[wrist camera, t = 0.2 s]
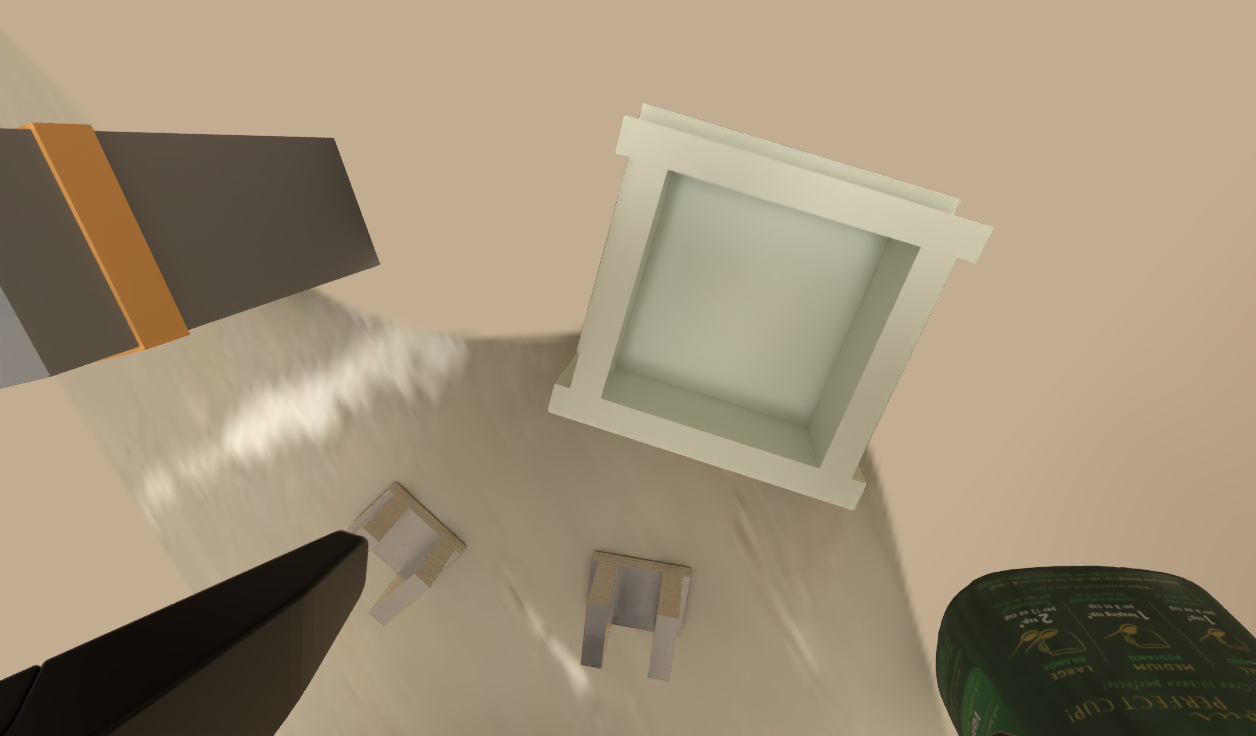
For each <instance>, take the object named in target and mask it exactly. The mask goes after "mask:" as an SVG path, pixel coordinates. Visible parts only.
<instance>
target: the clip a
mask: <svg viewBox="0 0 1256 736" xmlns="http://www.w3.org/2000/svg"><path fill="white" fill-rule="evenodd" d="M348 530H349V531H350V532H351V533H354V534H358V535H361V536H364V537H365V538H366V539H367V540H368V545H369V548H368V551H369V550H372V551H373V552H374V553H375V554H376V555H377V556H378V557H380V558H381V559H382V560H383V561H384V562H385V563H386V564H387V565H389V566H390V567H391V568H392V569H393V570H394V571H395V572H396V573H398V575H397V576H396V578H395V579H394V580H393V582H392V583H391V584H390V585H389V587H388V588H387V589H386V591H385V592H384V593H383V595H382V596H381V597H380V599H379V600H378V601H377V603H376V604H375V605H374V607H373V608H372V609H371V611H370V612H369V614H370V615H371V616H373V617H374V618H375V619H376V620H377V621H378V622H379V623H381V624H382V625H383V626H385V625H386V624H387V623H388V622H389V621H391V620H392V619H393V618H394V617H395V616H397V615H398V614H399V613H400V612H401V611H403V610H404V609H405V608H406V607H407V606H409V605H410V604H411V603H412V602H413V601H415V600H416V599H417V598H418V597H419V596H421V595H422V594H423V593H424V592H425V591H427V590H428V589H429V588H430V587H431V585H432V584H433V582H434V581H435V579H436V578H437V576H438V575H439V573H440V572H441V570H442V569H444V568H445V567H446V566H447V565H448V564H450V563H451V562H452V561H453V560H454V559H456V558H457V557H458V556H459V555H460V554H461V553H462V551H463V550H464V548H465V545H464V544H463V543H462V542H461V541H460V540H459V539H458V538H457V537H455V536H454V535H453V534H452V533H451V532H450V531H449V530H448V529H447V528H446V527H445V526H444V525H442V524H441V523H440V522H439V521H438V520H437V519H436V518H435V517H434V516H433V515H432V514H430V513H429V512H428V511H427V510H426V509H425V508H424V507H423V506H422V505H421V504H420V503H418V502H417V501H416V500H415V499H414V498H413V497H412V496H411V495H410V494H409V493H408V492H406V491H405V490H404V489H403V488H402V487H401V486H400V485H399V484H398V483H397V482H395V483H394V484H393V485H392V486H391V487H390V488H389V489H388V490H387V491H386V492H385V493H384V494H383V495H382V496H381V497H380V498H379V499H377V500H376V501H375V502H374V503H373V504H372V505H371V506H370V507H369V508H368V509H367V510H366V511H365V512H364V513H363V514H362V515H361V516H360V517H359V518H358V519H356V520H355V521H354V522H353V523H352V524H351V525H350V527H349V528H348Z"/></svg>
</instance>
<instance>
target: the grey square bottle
mask: <svg viewBox="0 0 1256 736" xmlns="http://www.w3.org/2000/svg"><path fill="white" fill-rule="evenodd" d="M378 265H380V263H379V260H378V257H377V255H376V252H375V249H374V247H373V244H372V241H371V239H370V235H369V233H368V230H367V227H366V225H365V222H364V219H363V217H362V214H361V211H360V208H359V205H358V203H357V200H356V197H355V195H354V192H353V189H352V186H351V183H350V181H349V178H348V176H347V173H346V170H345V167H344V164H343V162H342V159H341V156H340V154H339V151H338V148H337V145H336V142H335V140H334V138H316V137H282V136H279V137H278V136H247V135H246V136H245V135H212V134H211V135H210V134H177V133H142V132H140V133H139V132H107V131H94V130H93V128H92V126H91V125H82V124H56V123H29V124H27V125H24V126H21V127H18V128H15V129H2V128H0V389H1V388H5V387H9V386H14V385H18V384H22V383H26V382H30V381H35V380H39V379H43V378H47V377H51V376H54V375H57V374H60V373H63V372H66V371H69V370H72V369H75V368H78V367H81V366H84V365H87V364H90V363H93V362H97V361H101V360H105V359H110V358H114V357H118V356H122V355H126V354H131V353H135V352H139V351H143V350H147V349H150V348H153V347H155V346H158V345H161V344H164V343H167V342H170V341H173V340H175V339H178V338H181V337H184V336H187V335H190V333H189V331H188V330H190V329H193V328H196V327H198V326H201V325H204V324H207V323H210V322H213V321H216V320H219V319H222V318H225V317H228V316H231V315H234V314H237V313H240V312H243V311H246V310H248V309H251V308H254V307H257V306H260V305H263V304H266V303H269V302H272V301H275V300H278V299H281V298H284V297H287V296H290V295H293V294H296V293H298V292H301V291H304V290H307V289H310V288H313V287H316V286H319V285H322V284H325V283H328V282H331V281H334V280H337V279H340V278H342V277H346V276H348V275H351V274H354V273H357V272H360V271H363V270H366V269H369V268H372V267H375V266H378Z"/></svg>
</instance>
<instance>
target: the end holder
mask: <svg viewBox="0 0 1256 736" xmlns="http://www.w3.org/2000/svg"><path fill="white" fill-rule="evenodd" d="M615 153H616V154H619V155H622V156H625V157H628V161H627V165H626V169H625V172H624V176H623V180H622V183H621V187H620V191H619V195H618V199H617V202H616V206H615V209H614V213H613V217H612V221H611V224H610V228H609V232H608V236H607V239H606V243H605V247H604V251H603V254H602V258H601V262H600V265H599V269H598V273H597V276H596V280H595V284H594V288H593V291H592V295H591V299H590V303H589V306H588V311H587V314H586V318H585V321H584V325H583V329H582V332H581V336H580V340H579V344H578V347H577V351H576V354H575V355H574V357H573V358H572V360H571V361H570V363H569V364H568V365H567V367H566V368H565V370H564V371H563V372H562V374H561V375H560V377H559V378H558V380H557V381H556V382H555V384H554V388H553V392H552V396H551V399H550V403H549V407H548V411H547V412H550V413H553V414H556V415H559V416H562V417H565V418H568V419H571V420H574V421H577V422H580V423H584V424H587V425H590V426H593V427H596V428H599V429H602V430H605V431H608V432H611V433H615V434H618V435H621V436H624V437H627V438H630V439H633V440H636V441H639V442H642V443H645V444H649V445H652V446H655V447H658V448H661V449H664V450H667V451H670V452H673V453H676V454H679V455H683V456H686V457H689V458H692V459H695V460H698V461H701V462H704V463H707V464H710V465H713V466H717V467H720V468H723V469H726V470H729V471H732V472H735V473H738V474H741V475H744V476H748V477H751V478H754V479H757V480H760V481H763V482H766V483H769V484H772V485H775V486H778V487H782V488H785V489H788V490H791V491H794V492H797V493H800V494H803V495H806V496H809V497H812V498H816V499H819V500H822V501H825V502H828V503H831V504H834V505H837V506H840V507H843V508H847V509H850V510H853V511H854V510H855V508H856V506H857V503H858V501H859V499H860V497H861V495H862V493H863V491H864V489H865V487H866V485H867V483H866V480H865V478H864V476H863V474H862V471H861V469H860V467H859V462H860V460H861V458H862V456H863V453H864V451H865V449H866V447H867V445H868V443H869V441H870V439H871V437H872V435H873V433H874V431H875V429H876V427H877V424H878V422H879V420H880V418H881V416H882V414H883V412H884V410H885V408H886V406H887V403H888V402H889V399H890V397H891V395H892V393H893V391H894V389H895V387H896V385H897V383H898V381H899V379H900V376H901V375H902V372H903V370H904V368H905V366H906V364H907V362H908V360H909V358H910V356H911V354H912V352H913V350H914V348H915V346H916V344H917V341H918V339H919V337H920V335H921V333H922V331H923V329H924V327H925V325H926V323H927V321H928V319H929V317H930V315H931V313H932V310H933V308H934V306H935V304H936V302H937V300H938V298H939V296H940V294H941V292H942V290H943V288H944V286H945V283H946V281H947V279H948V277H949V275H950V273H951V271H952V269H953V267H954V265H955V263H956V261H957V259H961V260H964V261H968V262H971V263H974V264H976V263H977V261H978V259H979V257H980V255H981V253H982V251H983V249H984V247H985V245H986V243H987V241H988V239H989V237H990V235H991V233H992V231H993V228H994V227H993V226H989V225H986V224H983V223H980V222H976V221H972V220H970V219H966V218H963V217H960V216H956V215H954V213H955V211H956V209H957V207H958V205H959V203H960V200H961V199H959V198H956V197H953V196H949V195H946V194H943V193H940V192H936V191H933V190H930V189H926V188H923V187H920V186H916V185H913V184H910V183H906V182H903V181H900V180H897V179H893V178H890V177H887V176H884V175H880V174H877V173H874V172H871V171H867V170H864V169H861V168H857V167H854V166H851V165H847V164H844V163H841V162H838V161H834V160H831V159H828V158H824V157H821V156H818V155H814V154H811V153H808V152H805V151H801V150H798V149H794V148H791V147H788V146H785V145H781V144H778V143H775V142H772V141H768V140H765V139H761V138H758V137H755V136H752V135H748V134H745V133H742V132H738V131H735V130H732V129H729V128H725V127H722V126H719V125H716V124H712V123H709V122H706V121H702V120H699V119H696V118H692V117H689V116H685V115H682V114H679V113H676V112H673V111H669V110H666V109H663V108H659V107H656V106H653V105H650V104H646V103H643V105H642V109H641V113H640V116H639V119H638V118H634V117H631V116H628V115H624V119H623V123H622V126H621V130H620V134H619V138H618V142H617V146H616V149H615Z"/></svg>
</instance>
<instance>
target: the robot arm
mask: <svg viewBox="0 0 1256 736" xmlns="http://www.w3.org/2000/svg"><path fill="white" fill-rule="evenodd" d="M368 548H369V545H368V540H367V539H366V538H365V537H364V536H361V535H358V534H354V533H351V532H348V531H344V530H339V531H335V532H333V533H330V534H328V535H326V536H324V537H321V538H319V539H317V540H315V541H313V542H310V543H308V544H306V545H304V546H301V547H299V548H297V549H295V550H292V551H290V552H288V553H286V554H283V555H281V556H279V557H277V558H274V559H272V560H270V561H268V562H265V563H263V564H261V565H259V566H256V567H254V568H252V569H250V570H248V571H245V572H243V573H241V574H239V575H236V576H234V577H232V578H230V579H227V580H225V581H223V582H221V583H218V584H216V585H214V586H212V587H209V588H207V589H205V590H203V591H200V592H198V593H196V594H194V595H191V596H189V597H187V598H185V599H183V600H180V601H178V602H176V603H174V604H171V605H169V606H167V607H165V608H163V609H160V610H158V611H156V612H153V613H151V614H149V615H147V616H144V617H143V618H140V619H138V620H135V621H133V622H131V623H129V624H126V625H124V626H122V627H120V628H117V629H115V630H113V631H111V632H109V633H106V634H104V635H102V636H100V637H97V638H95V639H93V640H91V641H88V642H86V643H84V644H82V645H79V646H77V647H75V648H73V649H71V650H68V651H66V652H64V653H62V654H59V655H57V656H55V657H52V658H50V659H48V660H46V661H45V662H44V663H43V664H42V666H41V667H40V666H39V665H34V666H32V667H30V668H28V669H25V670H23V671H21V672H18V673H16V674H14V675H12V676H9V677H7V678H5V679H3V680H0V736H274V734H275V733H276V732H277V730H278V729H279V728H280V726H281V725H282V723H283V722H284V721H285V719H286V718H287V717H288V715H289V714H290V712H291V711H292V709H293V708H294V707H295V705H296V704H297V702H298V701H299V699H300V698H301V696H302V695H303V693H304V691H305V690H306V688H307V686H308V685H309V683H310V681H311V680H312V678H313V676H314V675H315V673H316V671H317V670H318V668H319V666H320V664H321V663H322V661H323V659H324V658H325V656H326V654H327V652H328V651H329V649H330V647H331V646H332V644H333V642H334V640H335V639H336V637H337V635H338V634H339V632H340V630H341V628H342V627H343V625H344V623H345V622H346V620H347V618H348V616H349V615H350V613H351V611H352V610H353V608H354V606H355V605H356V603H357V601H358V599H359V597H360V596H361V593H362V591H363V588H364V585H365V580H366V570H367V559H368ZM990 736H1016V735H1013V734H1009V733H1006V732H1003V731H997V732H995V733H992V734H991V735H990Z"/></svg>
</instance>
